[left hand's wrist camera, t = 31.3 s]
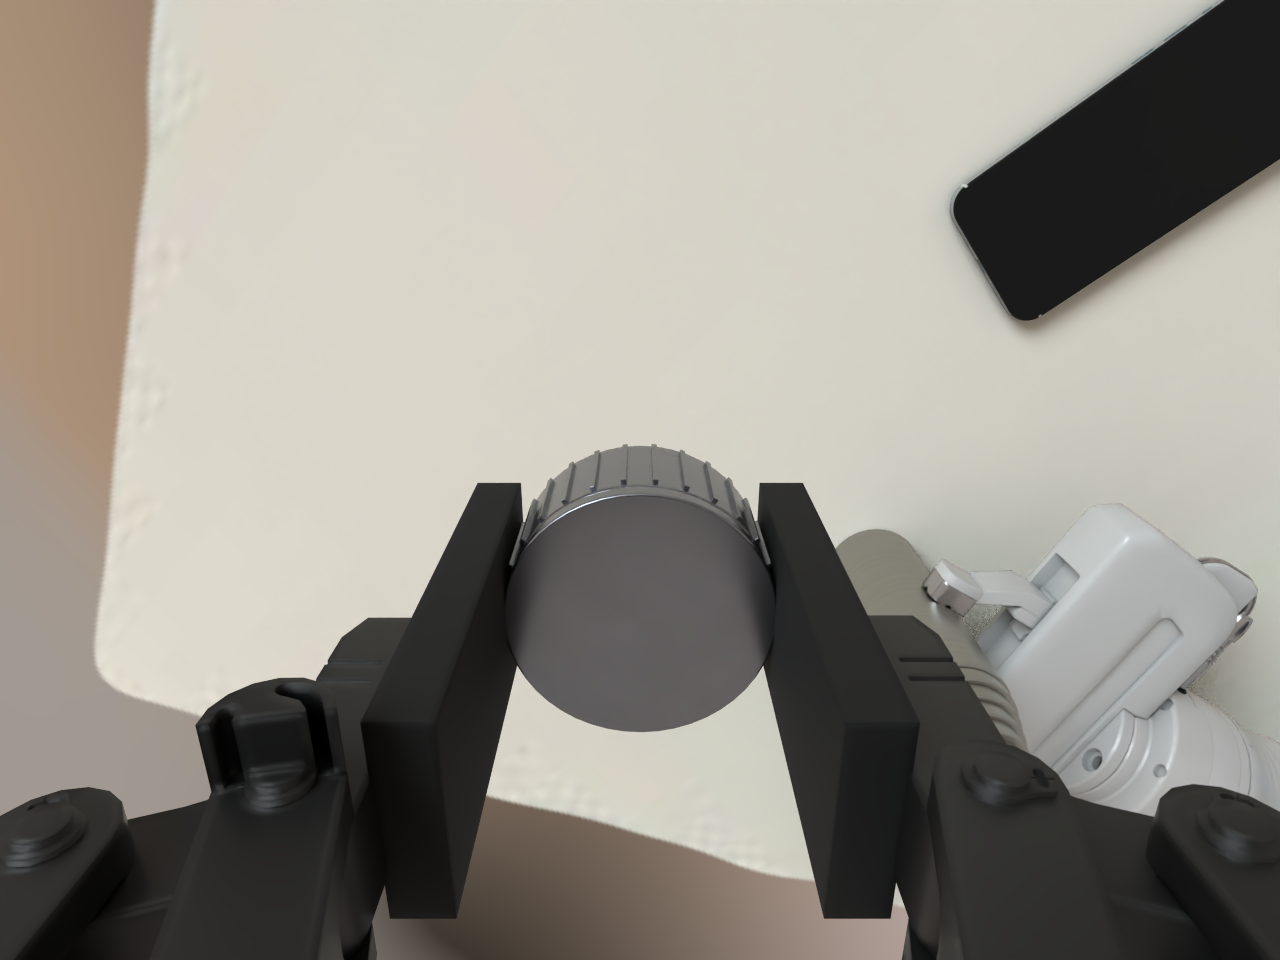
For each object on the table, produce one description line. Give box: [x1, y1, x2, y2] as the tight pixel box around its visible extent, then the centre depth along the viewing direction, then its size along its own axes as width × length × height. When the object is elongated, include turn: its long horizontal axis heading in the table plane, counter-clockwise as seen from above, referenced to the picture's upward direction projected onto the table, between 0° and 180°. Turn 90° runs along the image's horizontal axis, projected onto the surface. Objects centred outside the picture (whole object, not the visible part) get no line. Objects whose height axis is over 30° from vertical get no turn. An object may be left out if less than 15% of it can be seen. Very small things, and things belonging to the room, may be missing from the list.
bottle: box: [836, 530, 1030, 754], centre depth 36 cm, size 5×5×18 cm
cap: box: [504, 444, 776, 732], centre depth 14 cm, size 4×4×2 cm
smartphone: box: [950, 0, 1280, 320], centre depth 36 cm, size 7×1×15 cm
